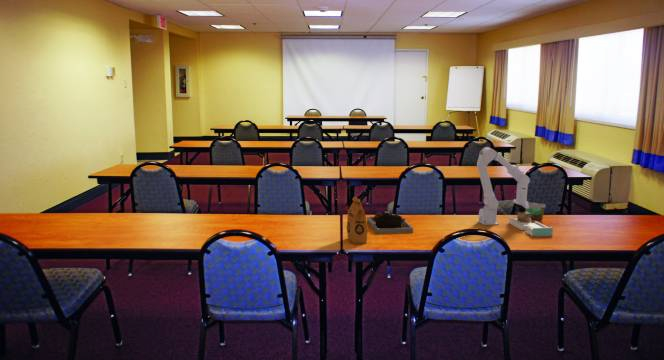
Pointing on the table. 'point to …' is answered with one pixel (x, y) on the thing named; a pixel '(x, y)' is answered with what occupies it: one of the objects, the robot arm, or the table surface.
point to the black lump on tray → (388, 220)
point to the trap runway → (532, 227)
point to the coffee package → (357, 223)
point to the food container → (536, 210)
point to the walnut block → (523, 217)
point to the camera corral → (390, 230)
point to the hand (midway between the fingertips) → (519, 217)
